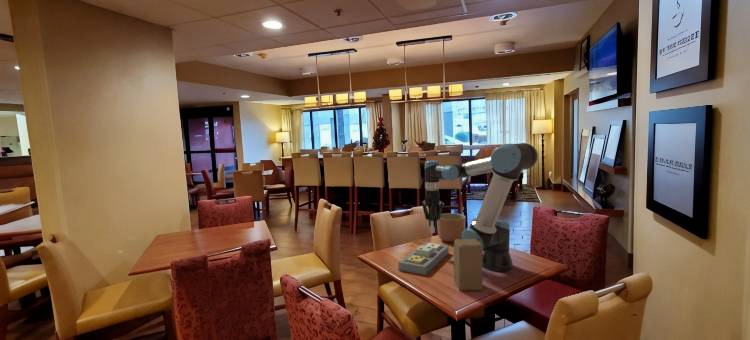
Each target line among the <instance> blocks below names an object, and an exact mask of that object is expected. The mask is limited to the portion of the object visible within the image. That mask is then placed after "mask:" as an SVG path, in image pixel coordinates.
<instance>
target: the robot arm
mask: <svg viewBox="0 0 750 340" xmlns="http://www.w3.org/2000/svg"><path fill="white" fill-rule="evenodd" d="M538 158H539V153H538V151H537V149H536V147H535V146H533V145H532V144H530V143H526V142H521V143H505V144H502V145H499V146H497V147H496V148H494V150H493V151H492V153H491V155H490V156H487V157H483V158H480V159H474V160H471V161H467V162H463V163H456V164H445V165H444V164H440V162H439V160H427V161H425V162H424V189H425V192H424V194H425V195H424V196H425V197H424V200H423V201H421V202H420V205H421V206H422V209H423V213H424V214H423V215H424V218H425V220H428V226H429V227H430V233H431V234H435V233H436V227H437V220H439V219H440V217H441V214H442V211H443V207H444V205H445V202H442V201H441V199H440V190H439V189H440V180H443V181H448V182H449V181H456V179H457V180H458V179H465V178H470V177H473V176H479V175H483V174H488V173H492V174H493V175H492V177H491V180H490V182H489V184H488V187H487V190H486V192H485V196H484V198H483V201H482V203H481V205H480V209H479V211H478V213H477V217H476V218H473V219H472V220H471V222H470V225H469V227H468V228H467V227H466V228H465V230H464V231H463V233H462V239H476V240H477V241H478V242H479V243H481V244H482V246H483V269H486V270H489V271H493V272H508V271H511V270H512V269H513V267H514V265H513V264H514V263H513V259H512V256H511V253H510V235H511V234H510V233H511V232H510V231H511V229H510V228H511V227H510V223H509V222H508V221H506V220H502V219H499V216H500V214H501V212H502V209H503V206H504V204H505V202H506V200H507V197H508V195H509V192H510V189H511V188H512V185H513V183H514V182H515V181H518V180H519V178H520V176H521V174H522V171H525V170H529V169H531V168H533V167H534V166H535V165H536V164H537V162H538ZM438 205H439V206H438Z"/></svg>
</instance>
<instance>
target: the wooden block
mask: <svg viewBox="0 0 750 340" xmlns="http://www.w3.org/2000/svg"><path fill="white" fill-rule="evenodd" d="M483 252H484V251H483V246H482V244H481V243H479V242H478V241H477V240H476V239H456V240H455V241H454V243H453V270H454V271H453V281H454V284H455V285H456V286H457V288H458V290H459V291H460V292H466V291H467V292H470V291H472V292H473V291H481V290H483V272H484V271H483V269H484V267H483Z"/></svg>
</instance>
